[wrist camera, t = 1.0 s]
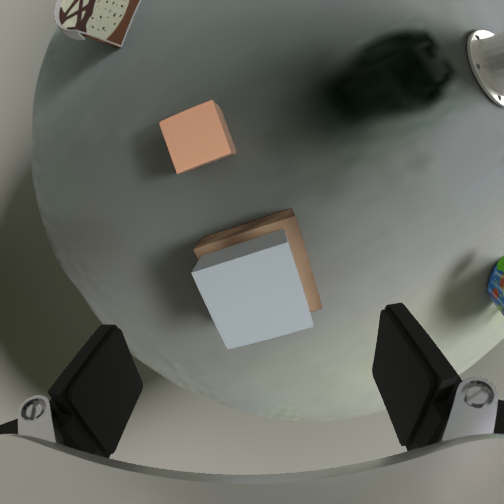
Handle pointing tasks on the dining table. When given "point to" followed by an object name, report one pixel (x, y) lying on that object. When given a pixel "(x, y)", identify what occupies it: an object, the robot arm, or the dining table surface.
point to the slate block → (253, 290)
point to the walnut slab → (264, 227)
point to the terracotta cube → (197, 137)
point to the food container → (96, 19)
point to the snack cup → (497, 285)
